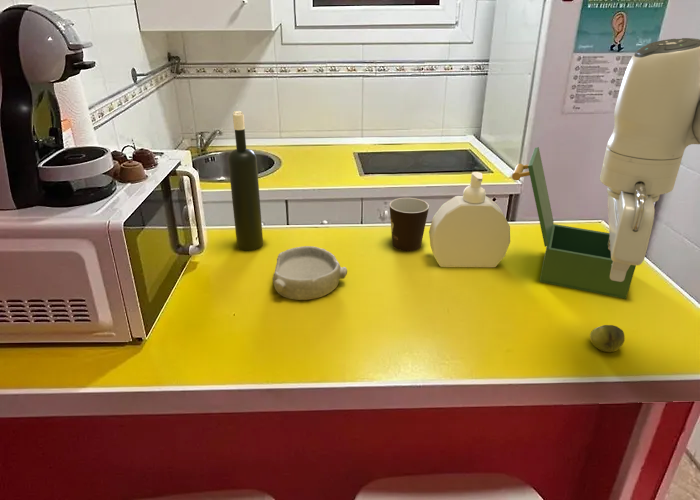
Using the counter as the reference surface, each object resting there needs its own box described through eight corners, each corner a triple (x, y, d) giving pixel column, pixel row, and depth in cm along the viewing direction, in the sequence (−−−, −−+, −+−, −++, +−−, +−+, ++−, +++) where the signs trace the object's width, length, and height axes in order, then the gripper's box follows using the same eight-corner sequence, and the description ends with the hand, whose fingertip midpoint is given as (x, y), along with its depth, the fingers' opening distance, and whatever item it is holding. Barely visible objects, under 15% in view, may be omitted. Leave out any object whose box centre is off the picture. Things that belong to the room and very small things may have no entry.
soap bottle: (429, 269, 108) (438, 178, 99) (426, 256, 113) (434, 169, 104) (506, 269, 108) (522, 178, 99) (500, 257, 113) (514, 169, 104)
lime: (583, 345, 86) (589, 321, 84) (604, 338, 88) (611, 314, 85) (604, 362, 82) (612, 336, 80) (626, 354, 84) (634, 329, 82)
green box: (622, 270, 108) (632, 236, 105) (625, 300, 98) (636, 264, 94) (544, 255, 114) (551, 223, 110) (539, 283, 103) (546, 248, 100)
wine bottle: (232, 249, 115) (217, 113, 101) (246, 239, 120) (234, 107, 106) (254, 254, 113) (242, 116, 99) (268, 243, 118) (258, 110, 104)
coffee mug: (420, 257, 112) (423, 215, 108) (382, 250, 115) (384, 209, 110) (432, 236, 122) (436, 196, 117) (397, 230, 125) (399, 191, 120)
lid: (538, 146, 104) (515, 151, 107) (532, 165, 94) (506, 170, 96) (553, 221, 110) (531, 224, 112) (549, 246, 99) (524, 249, 102)
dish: (278, 308, 95) (277, 285, 92) (264, 272, 106) (263, 250, 104) (353, 295, 99) (354, 272, 97) (332, 261, 110) (332, 240, 108)
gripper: (675, 202, 59) (645, 304, 65) (657, 152, 76) (634, 238, 82) (614, 195, 61) (591, 294, 67) (610, 148, 78) (591, 232, 84)
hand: (614, 263), depth 75 cm, fingers open, 8 cm apart
